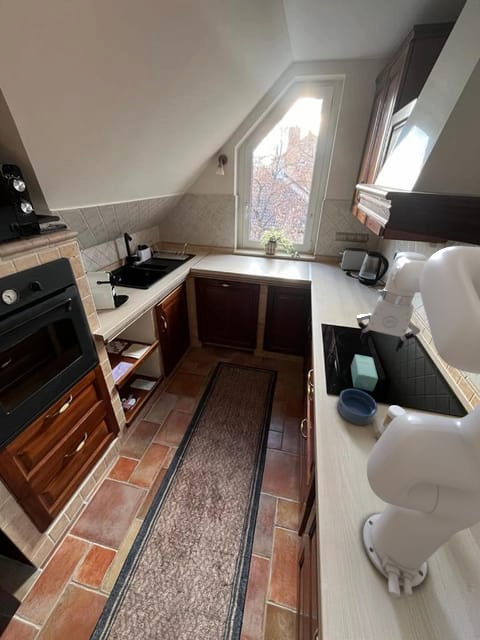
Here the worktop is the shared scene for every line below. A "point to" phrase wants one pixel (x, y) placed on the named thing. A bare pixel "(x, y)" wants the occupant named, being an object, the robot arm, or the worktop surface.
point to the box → (364, 373)
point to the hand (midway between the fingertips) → (379, 345)
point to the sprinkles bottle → (390, 418)
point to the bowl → (357, 406)
